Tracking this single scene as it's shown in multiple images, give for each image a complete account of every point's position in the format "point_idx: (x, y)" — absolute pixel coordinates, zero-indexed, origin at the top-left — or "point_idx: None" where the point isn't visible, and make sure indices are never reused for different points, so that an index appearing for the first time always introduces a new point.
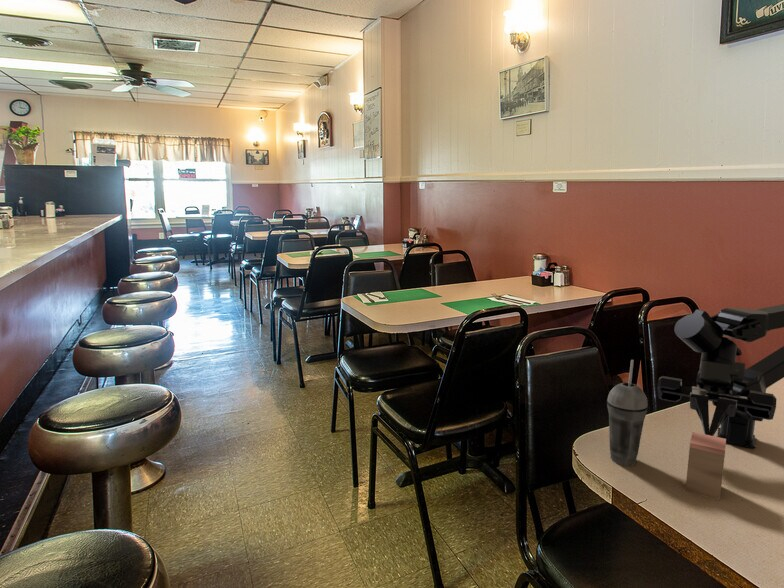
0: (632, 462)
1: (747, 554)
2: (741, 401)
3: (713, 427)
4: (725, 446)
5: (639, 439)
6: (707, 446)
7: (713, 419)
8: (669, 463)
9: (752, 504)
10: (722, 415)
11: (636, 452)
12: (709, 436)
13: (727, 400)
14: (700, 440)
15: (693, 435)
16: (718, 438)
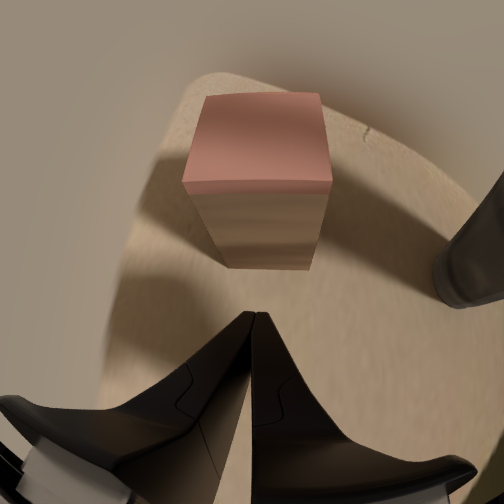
0: (438, 258)
1: (212, 94)
2: (9, 486)
3: (226, 335)
4: (199, 119)
5: (468, 236)
6: (261, 94)
7: (219, 369)
8: (363, 333)
9: (171, 220)
10: (148, 389)
11: (448, 250)
12: (253, 168)
13: (28, 417)
14: (288, 119)
15: (320, 144)
16: (214, 167)
